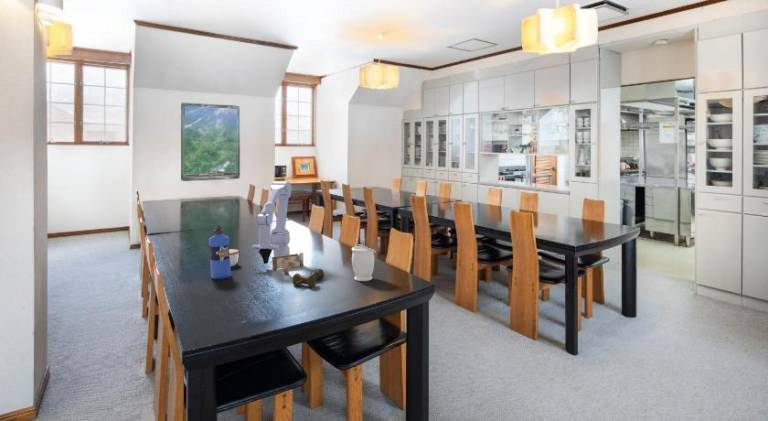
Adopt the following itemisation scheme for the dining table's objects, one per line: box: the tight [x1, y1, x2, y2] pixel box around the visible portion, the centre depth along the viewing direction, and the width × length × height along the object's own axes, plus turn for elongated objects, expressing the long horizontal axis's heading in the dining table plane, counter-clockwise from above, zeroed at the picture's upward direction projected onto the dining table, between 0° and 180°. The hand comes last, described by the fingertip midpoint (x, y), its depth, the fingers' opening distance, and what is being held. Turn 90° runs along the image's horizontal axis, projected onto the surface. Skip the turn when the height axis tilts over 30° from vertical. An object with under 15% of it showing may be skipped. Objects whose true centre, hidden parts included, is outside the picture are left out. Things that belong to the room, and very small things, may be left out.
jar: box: [351, 245, 375, 282], centre depth 211 cm, size 11×10×15 cm
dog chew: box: [292, 268, 325, 288], centre depth 205 cm, size 6×10×20 cm
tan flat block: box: [271, 253, 300, 271], centre depth 233 cm, size 14×2×7 cm, turn 120°
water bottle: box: [208, 224, 232, 280], centre depth 218 cm, size 9×9×25 cm
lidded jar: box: [229, 248, 240, 268], centre depth 240 cm, size 11×11×9 cm
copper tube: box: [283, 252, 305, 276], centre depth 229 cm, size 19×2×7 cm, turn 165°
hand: (266, 263), depth 232 cm, fingers closed
